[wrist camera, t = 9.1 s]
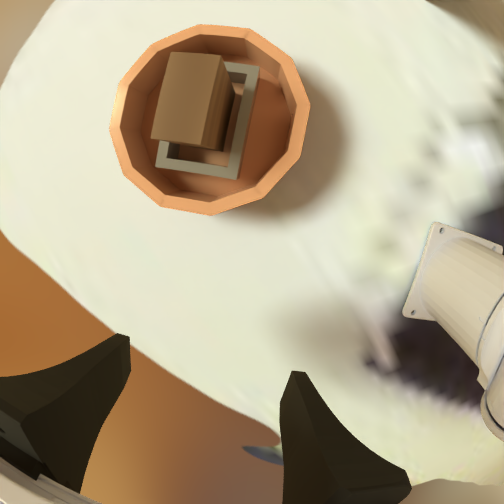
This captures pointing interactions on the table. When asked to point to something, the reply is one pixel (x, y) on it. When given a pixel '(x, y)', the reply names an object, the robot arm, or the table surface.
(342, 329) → the table surface
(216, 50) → the faceted orange bowl
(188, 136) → the wooden rectangular peg
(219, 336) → the table surface
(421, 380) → the table surface
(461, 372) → the table surface
